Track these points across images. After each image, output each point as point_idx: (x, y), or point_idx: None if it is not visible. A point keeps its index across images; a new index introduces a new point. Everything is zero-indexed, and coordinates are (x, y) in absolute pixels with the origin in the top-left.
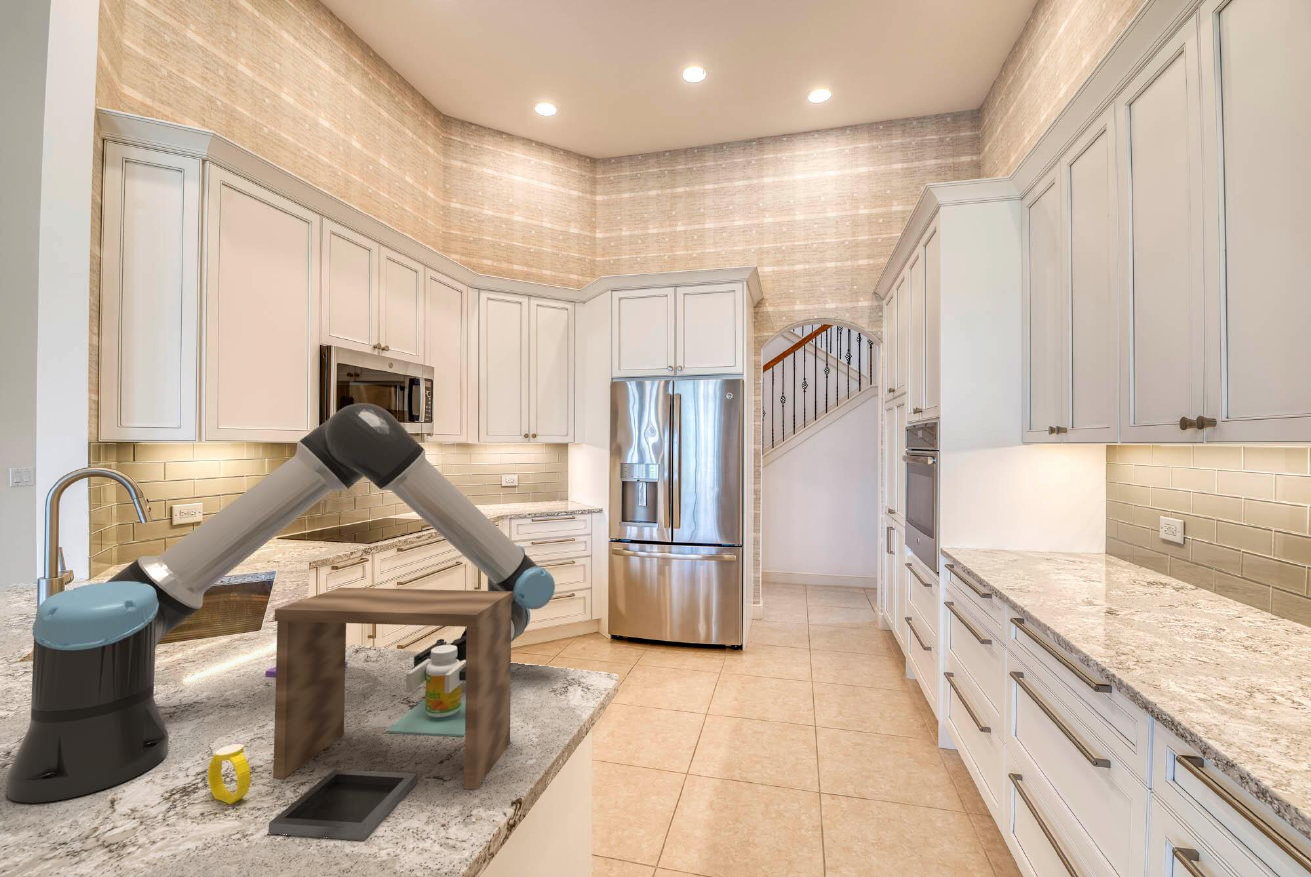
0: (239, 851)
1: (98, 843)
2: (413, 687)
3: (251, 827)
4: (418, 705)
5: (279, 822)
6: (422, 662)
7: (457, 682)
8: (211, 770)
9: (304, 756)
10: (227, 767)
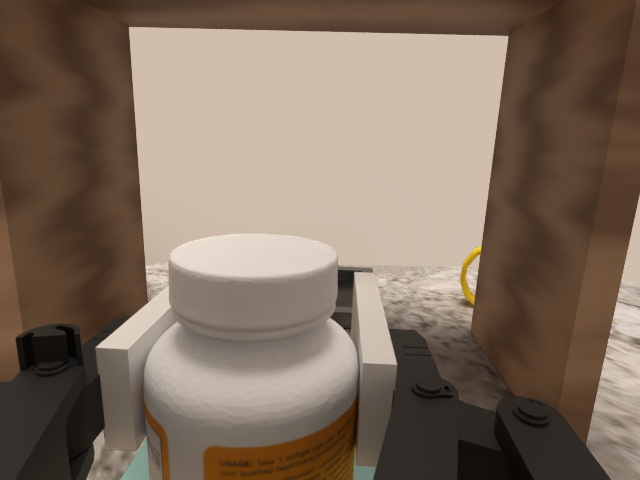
0: (378, 271)
1: None
2: (351, 339)
3: (401, 285)
4: None
5: (361, 268)
6: (388, 331)
7: None
8: None
9: (489, 344)
10: (619, 350)
